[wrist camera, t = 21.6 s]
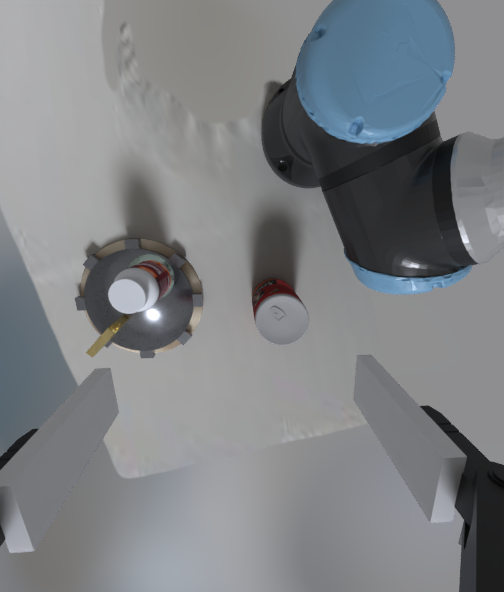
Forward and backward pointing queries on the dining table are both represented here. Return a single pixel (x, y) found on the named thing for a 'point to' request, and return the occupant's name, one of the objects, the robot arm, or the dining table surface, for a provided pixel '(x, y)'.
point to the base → (168, 252)
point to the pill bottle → (139, 287)
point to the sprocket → (145, 324)
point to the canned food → (279, 313)
